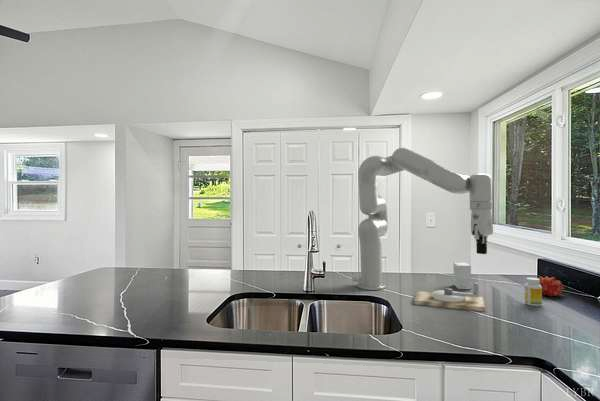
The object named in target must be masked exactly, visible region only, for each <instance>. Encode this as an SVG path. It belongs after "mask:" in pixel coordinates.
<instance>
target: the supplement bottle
mask: <svg viewBox="0 0 600 401" xmlns="http://www.w3.org/2000/svg"><path fill="white" fill-rule="evenodd" d="M538 278H539V277H526V283H525V284H524V304H525V305H528V306H532V307H541V306H542V305H543V295H542V286H541V285H540V284H539V283H540V279H538Z"/></svg>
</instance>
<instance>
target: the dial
mask: <svg viewBox="0 0 600 401" xmlns="http://www.w3.org/2000/svg"><path fill="white" fill-rule="evenodd" d="M479 289H480V288H479V283H478V282H472V290H473V291H472V292H465V291H463V292H462V291H457V290H456V291H454V290H453V288H450V287H444V288H443V289H441V290H434V291H431V292H432V298H433V299H435V300H438V301H442V302H450V303H458V302H464V301H465V300H466V296H468V297H480V294H479V292H480V291H479Z"/></svg>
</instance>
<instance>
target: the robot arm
mask: <svg viewBox="0 0 600 401" xmlns="http://www.w3.org/2000/svg"><path fill="white" fill-rule="evenodd" d="M403 171H406V172H408V173H410V174H412V175H415V176H416V177H418V178H420V179H422V180H424V181H427V182H429V183H430V184H433V185H434V186H436V187H438V188H441V189H442V190H445V191H446V192H448V193H451V194H456V195H457V194H459V195H461V194H466V193H467V194H468V193H469V210H470V211H471V213H470V234H471V235H472V236H474V237H473V238H474V240H475V243H476V254H478V255H486V254H488V237H489V236H492V235H493V234H494V227H493V223H494V222H493V215H492V208H493V206H492V202H493V201H492V177H491V175H490V174H488V173H476V174H471V175H463V174H459V173H457V172H454V171H452V170H450V169H448V168H445V167H443V166H441V165H439V164H438V163H437V162H435V161H434V160H432V159H430V158H428V157H426V156H424V155H421V154H419V153H417V152H415V151H414V150H410V149H408V148H406V147H399V148H396V150H395V151H393V152H392V155H389V156H386V157H384V156H380V155H371V156H369V157H367V158H366V159H364V160H363V161H362V163H360V165H359V167H358V172H357V179H358V196H359V197H358V198H359V202H358V203H359V210H360V212H361V213H362V214H363V215H365V216H367V217H368V218H365V219H363V220H362V221H361V222H360V223H359V224H358V225H359V226H358V228H357V229H358V230H357V232H358V233H357V234H358V238H359V246H360V247H359V248H360V250H359V251H360V252H359V254H360V276H352V277H351V280H352V281H353V282H354V283H355V282H357V287H358V288H359V289H362V290H365V291H378V290H384V289H385V288H386V283H384V282H383V272H382V271H383V269H382V268H383V267H382V265H383V263H382V243H381V238H382V237H383V236H385V234H386V233H387V231H388V226H389V225H388V224H389V223H388V222H389V221H388V208H387V207H388V205H387V202H386V200H385V198H383V197H382V196H381V195H379V193H378V188H379V187H378V183H377V182H378V181H377V176H382V177H386V176H390V175H393V174H397V173H400V172H403Z"/></svg>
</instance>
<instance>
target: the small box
mask: <svg viewBox="0 0 600 401" xmlns="http://www.w3.org/2000/svg"><path fill="white" fill-rule="evenodd" d="M452 265H453V266H452V267H453V285H454V286H455V287H456V288H457V290H472V266H471V265H470V264H469V263H467V262H453V264H452Z"/></svg>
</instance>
